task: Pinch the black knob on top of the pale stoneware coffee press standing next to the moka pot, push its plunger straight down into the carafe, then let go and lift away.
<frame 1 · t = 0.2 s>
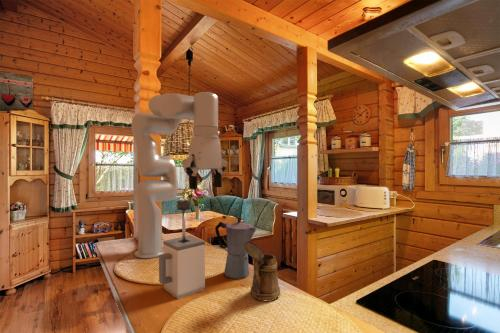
hand: (206, 188, 88), 31 cm above the breakfast bar, tool pointing down, fingers open, 9 cm apart
plunger: (183, 226, 87), point 20 cm above the breakfast bar, slide at 0.0 cm
carafe: (184, 289, 87), on the breakfast bar
moka pot: (235, 274, 99), on the breakfast bar
wooden mug: (261, 297, 82), on the breakfast bar
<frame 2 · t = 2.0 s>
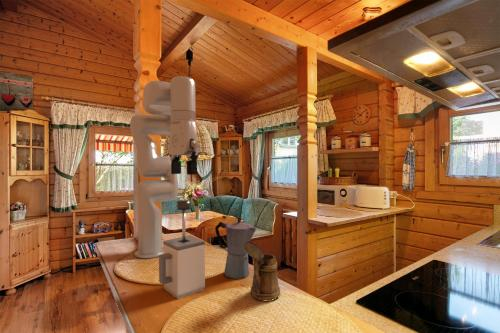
hand: (183, 174, 86), 36 cm above the breakfast bar, tool pointing down, fingers open, 9 cm apart
nothing on the breakfast bar moved.
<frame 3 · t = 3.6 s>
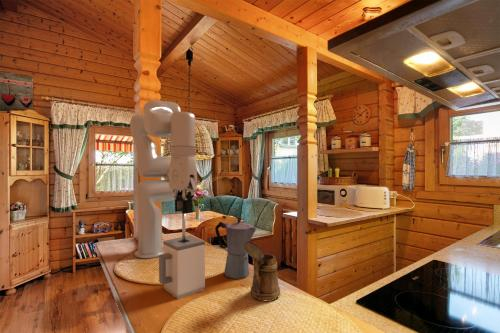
hand: (183, 211, 87), 24 cm above the breakfast bar, tool pointing down, fingers closed on plunger, 4 cm apart
plunger: (183, 226, 87), point 20 cm above the breakfast bar, slide at 0.0 cm, touching gripper
everything else where it was.
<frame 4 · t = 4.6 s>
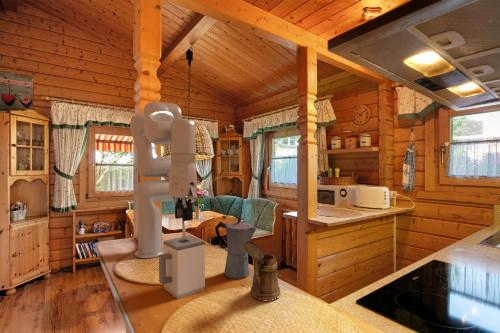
hand: (183, 218, 87), 22 cm above the breakfast bar, tool pointing down, fingers closed on plunger, 4 cm apart
plunger: (183, 233, 87), point 17 cm above the breakfast bar, slide at 2.3 cm, touching gripper
everything else where it was.
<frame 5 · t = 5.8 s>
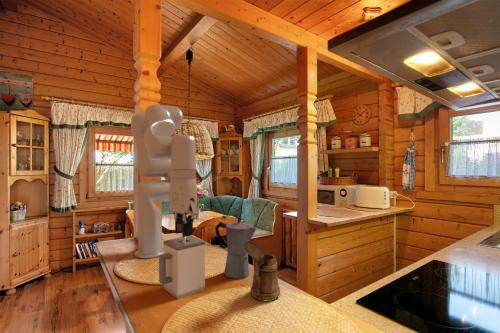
hand: (183, 233, 87), 17 cm above the breakfast bar, tool pointing down, fingers closed on plunger, 4 cm apart
plunger: (184, 248, 87), point 13 cm above the breakfast bar, slide at 7.0 cm, touching gripper
everything else where it was.
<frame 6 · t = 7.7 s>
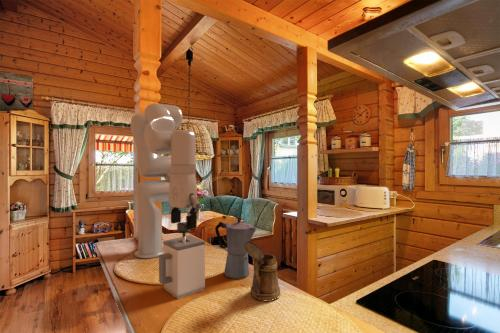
hand: (183, 225, 87), 20 cm above the breakfast bar, tool pointing down, fingers open, 9 cm apart
plunger: (184, 248, 87), point 13 cm above the breakfast bar, slide at 7.0 cm
everything else where it was.
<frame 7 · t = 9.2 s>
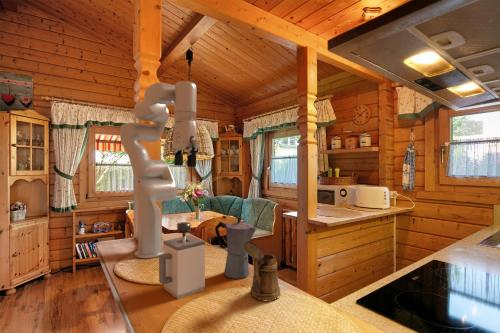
hand: (184, 166, 100), 38 cm above the breakfast bar, tool pointing down, fingers open, 9 cm apart
nothing on the breakfast bar moved.
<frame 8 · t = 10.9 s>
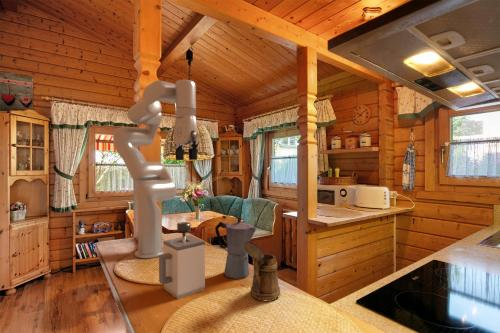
hand: (186, 159, 105), 40 cm above the breakfast bar, tool pointing down, fingers open, 9 cm apart
nothing on the breakfast bar moved.
at the end: plunger slide at 7.0 cm; the gripper is holding nothing; moka pot moved 0.2 cm from its start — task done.
